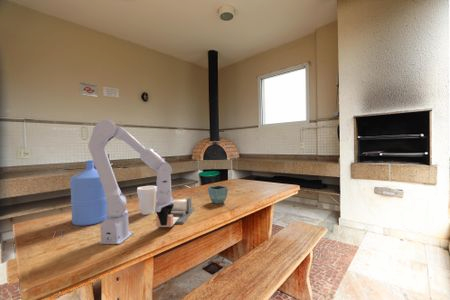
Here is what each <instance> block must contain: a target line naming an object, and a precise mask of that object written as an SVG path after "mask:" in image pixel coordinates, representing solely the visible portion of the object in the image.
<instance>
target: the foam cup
mask: <svg viewBox="0 0 450 300" xmlns="http://www.w3.org/2000/svg"><path fill="white" fill-rule="evenodd" d="M136 192H137V197H138V202H139V208H140V213H141V215H143V216H145V215H147V216H148V215H152V214H154V213H155V206H156V201H157V185H145V186H143V185H142V186H138V187H137V189H136Z"/></svg>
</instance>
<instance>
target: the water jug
mask: <svg viewBox="0 0 450 300" xmlns="http://www.w3.org/2000/svg"><path fill="white" fill-rule="evenodd" d="M85 163H86V164H85V167H86V169H85V170H83V171H81V172H79V173H76V174H75V175H73V176H71V177H70V179H69V180H70V181H69V187H70V206H71V224H72V225H74V226H77V227H79V226H80V227H81V226H92V225H96V224H99V223H103V222H104V221H105V219H106V217H107V210H106V208H107V201H106V196H105V191H104V188H103V186H102V183H101V180H100V178H99V175H98V172H97V169H96V168H95V164H94V161H93V159H92V160H85Z"/></svg>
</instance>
